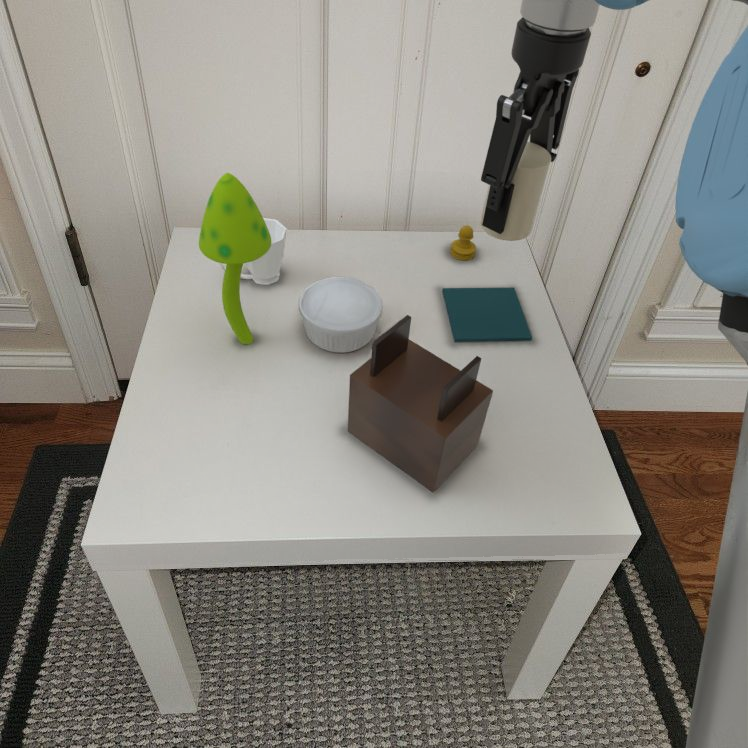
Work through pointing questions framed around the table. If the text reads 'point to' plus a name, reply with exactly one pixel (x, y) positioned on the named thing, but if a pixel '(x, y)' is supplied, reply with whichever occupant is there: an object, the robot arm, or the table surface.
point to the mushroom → (233, 243)
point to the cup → (268, 256)
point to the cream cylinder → (524, 194)
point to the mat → (485, 315)
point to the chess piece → (464, 245)
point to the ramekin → (340, 313)
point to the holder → (417, 407)
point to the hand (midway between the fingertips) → (508, 216)
